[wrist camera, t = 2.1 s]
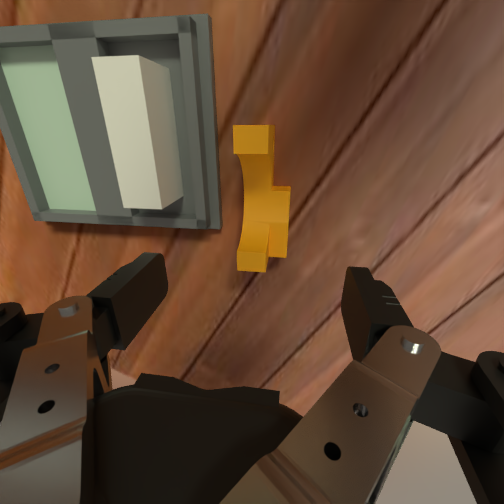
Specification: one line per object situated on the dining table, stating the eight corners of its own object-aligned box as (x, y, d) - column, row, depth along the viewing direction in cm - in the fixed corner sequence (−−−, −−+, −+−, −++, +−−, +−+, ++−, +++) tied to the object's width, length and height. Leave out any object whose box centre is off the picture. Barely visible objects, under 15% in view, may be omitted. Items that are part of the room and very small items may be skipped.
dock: (211, 18, 22) (183, -17, 17) (222, 226, 30) (206, 248, 24) (-18, 32, 25) (-104, 6, 20) (46, 217, 33) (-3, 235, 27)
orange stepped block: (287, 244, 30) (285, 273, 24) (248, 242, 30) (237, 270, 24) (294, 124, 24) (293, 125, 19) (247, 125, 25) (232, 125, 19)
